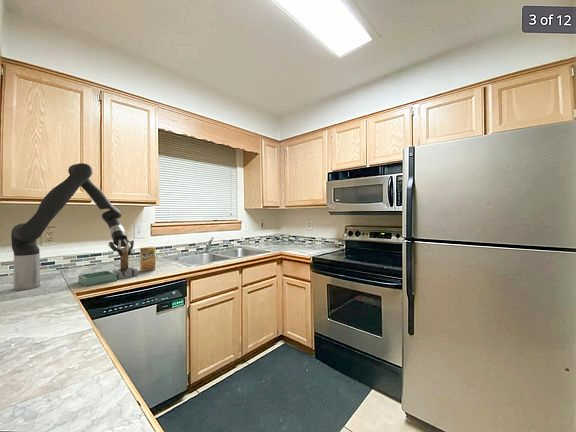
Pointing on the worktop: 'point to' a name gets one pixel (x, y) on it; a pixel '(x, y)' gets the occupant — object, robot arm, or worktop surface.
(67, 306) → the worktop surface
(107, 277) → the tray
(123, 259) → the wooden pin
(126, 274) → the socket block
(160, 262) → the worktop surface
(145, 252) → the candy box
